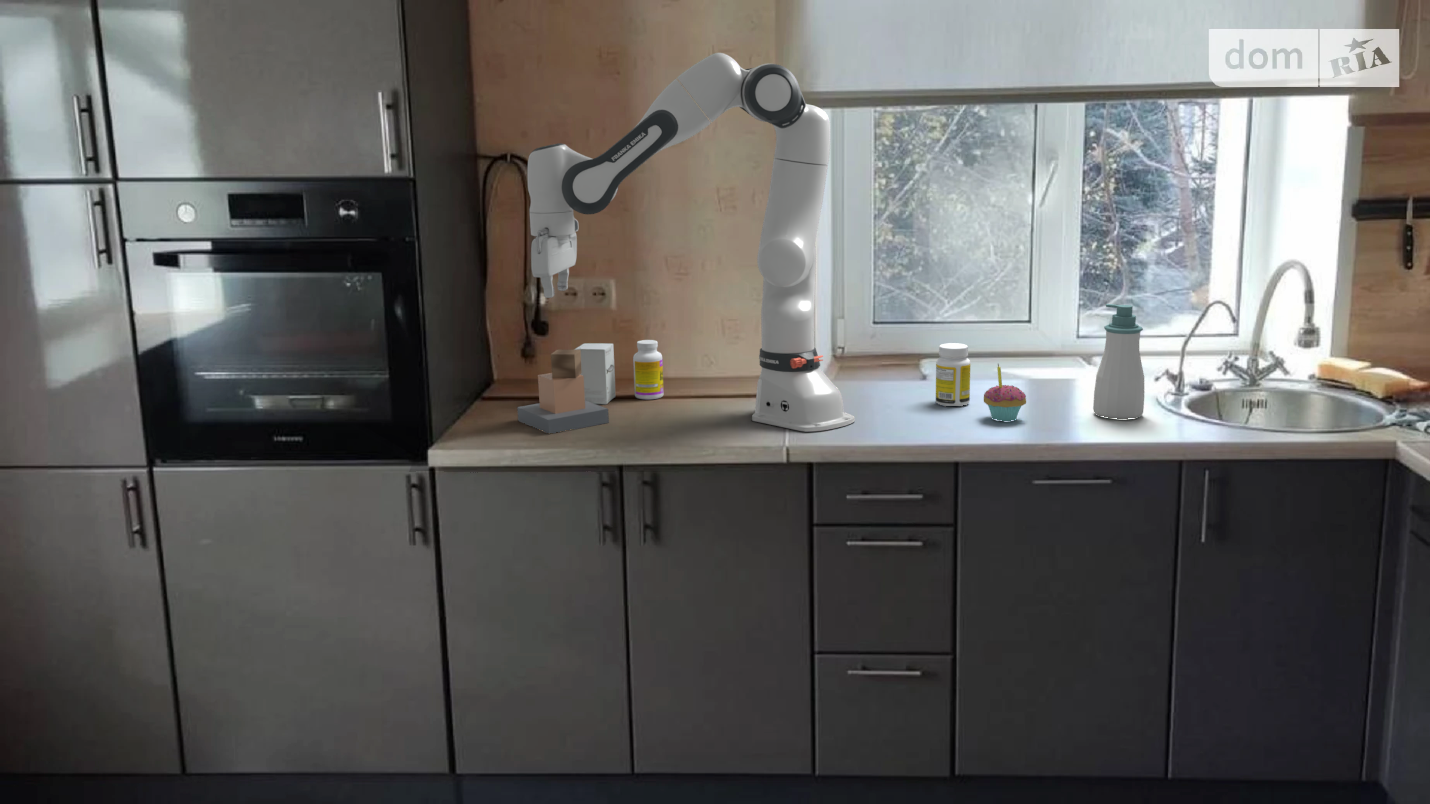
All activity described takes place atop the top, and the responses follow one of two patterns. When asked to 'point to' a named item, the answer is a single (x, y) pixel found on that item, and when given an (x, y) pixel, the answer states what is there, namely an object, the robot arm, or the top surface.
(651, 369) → the supplement bottle
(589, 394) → the supplement box
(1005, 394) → the cupcake
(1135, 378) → the soap bottle
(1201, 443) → the top surface
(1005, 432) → the top surface
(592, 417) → the base slab
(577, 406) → the terracotta block
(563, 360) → the walnut block
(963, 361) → the supplement bottle
